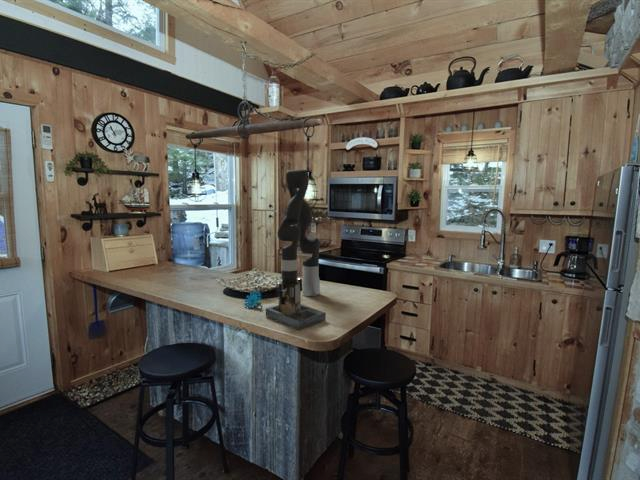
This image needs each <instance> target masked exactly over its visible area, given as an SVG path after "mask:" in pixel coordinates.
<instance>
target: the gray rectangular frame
mask: <svg viewBox="0 0 640 480" xmlns="http://www.w3.org/2000/svg"><path fill="white" fill-rule="evenodd" d="M326 315H327V314H326V312H325V311H322V310H319V309H315V308H313V307H310V306H306V305H304V304H301V311H299V312H296V313H293V314H290V315H286V314H284V313H281V312H279V304H276V305H273V306H269V307H266V308H265V317H266V316H268V317H270V318H269V319H271V318H272V319H271V320H273V319H274V321H276V320H277V321H276V322H278V321H279V322H278V323H280V322H281V324H283V325H285V324H286V325H285V326H288V327H290V328H292V327H293V328H292V329H295V330H297V331H302V330H304V329H308V328H310V327H313V326H315V325H319V324H321V323H324V322H326V321H327V320H326V319H327V317H326ZM268 317H267V318H268Z"/></svg>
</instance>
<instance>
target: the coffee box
mask: <svg viewBox="0 0 640 480" xmlns="http://www.w3.org/2000/svg"><path fill="white" fill-rule="evenodd" d="M280 283H282V281H281V282H280ZM286 288H287V293H286V294H285V296H284V297H285V304H284V305H282V304H281V303H280V296H278V305H279V312H281V313H284V314H286V315H290V314H293V313H296V312H299V311H301V305H302V304H301V301H302V299H301V298H302V297H301V292H302V291H300V283H299V282H295V283H291V284H287V285H286ZM286 288H285V287H284V286H282V290H286ZM282 294H283V292H282Z"/></svg>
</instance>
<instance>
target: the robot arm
mask: <svg viewBox="0 0 640 480" xmlns="http://www.w3.org/2000/svg"><path fill="white" fill-rule="evenodd" d="M285 183H286V185H287V189H288V193H289V196H290V200H289V201H288V203H287V204H286V208H285V213H284V217H283V219H282V222H281V224H280V225H279V228H278V229H277V238H278V240H280V241H282V242H292V243H291V245H285V246H283V247H282V248H281V263H280V267H281V270H280V271H281V272H280V273H281V275H280V276H281V280H282V281H281V282H282V283H281V282H277V283H276V284H275V285H276V286H275V287H276V288H275V289H276V292H275V295H276V296H277V297H279V296H280V303H281V304H282V305H284V304H285V297H284V296H285V294H286V293H287V288H286V285H287V284H291V283H295V282H299V283H300V292H302V295H303V296H304V297H315V296H316V297H317V296H319V294H321V293H320V291H321V290H320V288H321V287H320V286H321V285H320V284H321V283H320V281H321V280H320V279H321V278H320V277H319V273H320V272H319V269H320V268H319V267H320V265H319V264H320V263H319V262H320V245H321V244H320V240H319V238H317V237H307V235H306V233H307V231H308V229H309V227H310V225H311V223H312V220H313V217H312V209H311V207H310V205H309V204H308V202H307V201H306V200H305V197H306V194H307V191H308V187H309V183H310V175H309V172H308V170H306V169H290V170H287V171H286V173H285ZM298 246H299V250H300V252H301V253H302V254H308V255H311V257H309V258H307V259H304V260H302V278H299V277H298V275H299V274H298V271H299V270H298V267H299V266H298ZM282 286H284V287H285V288H286V290H282ZM282 292H283V294H282Z"/></svg>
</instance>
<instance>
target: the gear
mask: <svg viewBox="0 0 640 480" xmlns="http://www.w3.org/2000/svg"><path fill="white" fill-rule="evenodd" d="M261 300H262V293H260V291H256V290H254V291H253V292H250V293H249V295H248V294H247V296H246V298H245V299H244V304H243V305H244V306H245V308H247V307H248V309H250V308H251V309H252V308H255V307H257V306H258V307H260V308H264V306H263V305H262V301H261Z"/></svg>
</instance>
